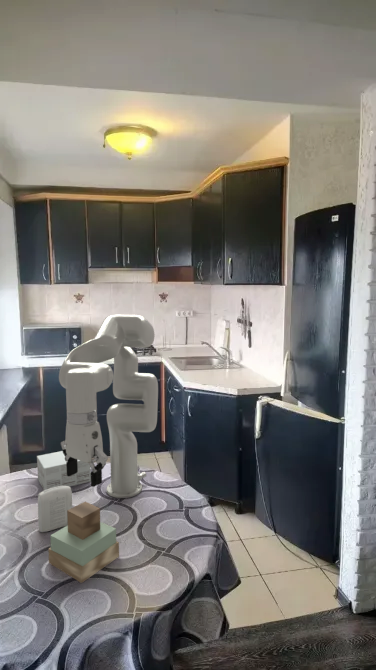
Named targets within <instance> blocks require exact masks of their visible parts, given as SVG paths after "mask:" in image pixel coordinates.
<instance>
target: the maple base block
mask: <svg viewBox="0 0 376 670" xmlns="http://www.w3.org/2000/svg"><path fill="white" fill-rule="evenodd" d="M119 557H120V542H119V541H117V540H116V543H115V544H113V545H112V546H111V547H109V548H108V549H106V550H105V551H104V552H102V553H101V554H99V555H98V556H97V557H95V558H94V559H92V560H91V561H90V562H88V563H87V564H85V565H84V566H81V565H79V564H77V563H75V562H73V561H71V560H70V559H68V558H66V557H64V556H62V555H60V554H58V553H56V552H54V551H52V550H51V546H50V547H49V548H48V564H50V565H51V566H52V567H54V568H56V569H58V570H59V571H61V572H63V573H64V574H66V575H68V576H69V577H71V578H73V579H74V580H76V581H77V582H79V583H81V584H82V583H84V582H85V581H86V580H88V579H90V577H92V576H94V575H95V574H97V573H98V572H99V571H101V570H102V569H103V568H105V567H107V566H108V565H110V564H111V563H113V561H114V560H117V559H118V558H119Z"/></svg>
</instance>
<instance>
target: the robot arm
mask: <svg viewBox="0 0 376 670" xmlns="http://www.w3.org/2000/svg"><path fill="white" fill-rule="evenodd" d="M155 335H156V334H155V328H154V326H153V325H152V324H151V322H150V321H149V320H148V319H146V318H145V316H142V315H138V314H111V315H108V316H107V317H105V319H103V321H102V322H101V325H100V327H99V329H98V330H97V332H96V334H95V335H94V338H92V339H90V340H87V341H86V342H84V343H82V344H80V345H78V346H76V347H75V348H73V349H72V350H71V351H70V352H69V353H68V354H67V355H66V357H65V359H64V361H63V362H62V364H61V366H60V369H59V372H58V381H59V384H60V385H61V387H63V388H64V389H65V396H66V397H65V398H66V399H65V400H66V424H65V425H66V426H65V440H63V441H61V442H60V446H61V449H62V451H63V454H64V456H65V461H67V462H66V468H67V476H71V475H73V474H76V473H77V472H78V464H77V460H80V461H83V462H85V463H89V465H90V470H92V471H91V482H90V486H91V487H92V488H95V487H96V486H99V485H100V484H102V483H103V469H104V468H105V466H106V465H107V461H108V458H109V457H108V455H107V454H106V453H105V451H104V448H103V436H102V431H101V425H100V422H99V421H98V408H97V407H98V406H97V403H98V402H97V401H98V400H97V393H98V392H103V391H106V390H107V389H108V388H110V386H111V385H112V393H113V396H114V398H116V399H118V400H127V401H128V400H129V401H142V402H143V404H142V403H123V402H122V403H115V404H112V405H111V406H109V408H108V409H107V412H106V423H107V427H108V433H109V434H108V435H109V451H110V452H109V453H110V454H109V455H110V462H109V463H110V483H108V485H107V487H106V493H107V495H109V496H111V497H113V498H116V499H129V498H132V497H135V496H138V495H139V494H141V492H142V491H143V484H142V483H141V482H140V481H142V479H144V478H146V477H147V473H146V472H145V471H142V472H140V473H139V470H138V469H139V468H138V442H137V437H136V436H135V434H134V432H135V433H138V432H139V433H151V432H153V431H154V430H155V429H156V427H157V423H158V407H159V406H158V403H159V400H158V399H159V383H158V378H157V377H156V376H155V374H154V373H149V372H147V373H146V372H139V358H138V356H137V354H136V353H135V351H134V349H133V348H149V347H151V346H152V344H153V343H154V341H155ZM112 359H113V369H112V367H111V366H110V365H109V364H107V363H104V362H107V361H110V360H112ZM95 463H96V465H95Z"/></svg>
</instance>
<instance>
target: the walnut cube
mask: <svg viewBox="0 0 376 670" xmlns="http://www.w3.org/2000/svg"><path fill="white" fill-rule="evenodd" d="M67 519H68V532H69V533H71V534H73V535H75V536H76V537H78V538H80V539H82V540H83V539H85V538H87V537H88V536H90V535H92V534H94V533H95V532H97V531H99V530H100V522H101V508H100V507H98V506H95V505H94V504H91V502H87V501H83V502H82V503H80V504H77V505H76V506H72V508H71V509H69V510H67Z"/></svg>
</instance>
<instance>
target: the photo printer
mask: <svg viewBox="0 0 376 670" xmlns="http://www.w3.org/2000/svg"><path fill="white" fill-rule="evenodd" d="M71 508H73V491H72V488H71V486H70V487H69V486H56V487H52V488H49V489H47V490H42V491H41V492H39V493H38V495H37V522H38V523H37V524H38V525H37V526H38V531H39V532H40V533H46V532H49V531H53V530H56V529H59V528H64V527H66V526H67V525H68V519H67V510H69V509H71Z"/></svg>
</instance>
